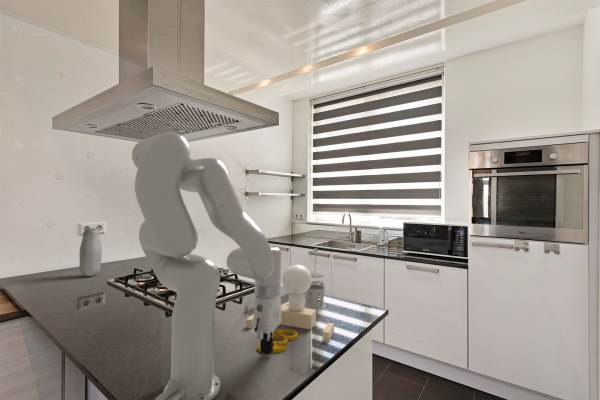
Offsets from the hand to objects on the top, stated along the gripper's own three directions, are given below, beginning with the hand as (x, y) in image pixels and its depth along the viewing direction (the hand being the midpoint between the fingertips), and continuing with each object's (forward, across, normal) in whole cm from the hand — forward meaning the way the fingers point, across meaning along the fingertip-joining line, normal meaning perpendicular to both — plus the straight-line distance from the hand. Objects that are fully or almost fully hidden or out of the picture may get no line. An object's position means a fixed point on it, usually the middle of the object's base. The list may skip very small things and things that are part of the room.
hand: (266, 352), depth 87 cm
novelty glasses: (+2, +9, 0) cm, 9 cm away
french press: (+1, +45, -2) cm, 45 cm away
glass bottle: (+1, +44, +134) cm, 141 cm away
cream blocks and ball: (+1, +23, 0) cm, 23 cm away
